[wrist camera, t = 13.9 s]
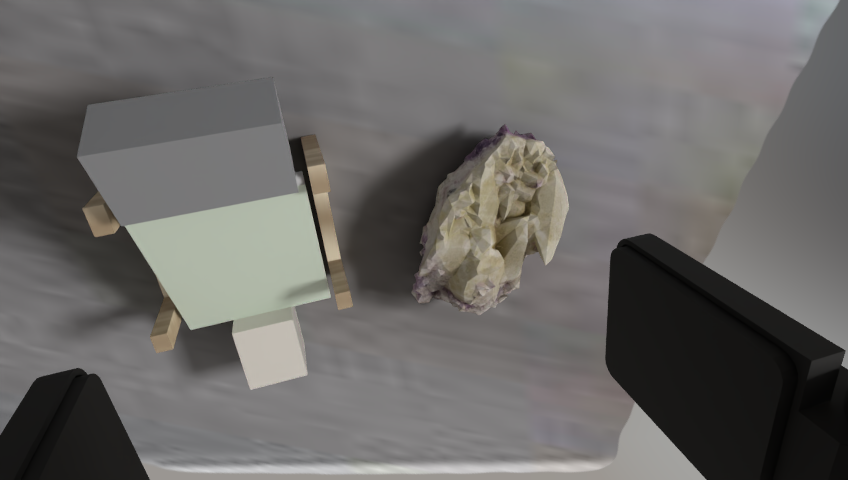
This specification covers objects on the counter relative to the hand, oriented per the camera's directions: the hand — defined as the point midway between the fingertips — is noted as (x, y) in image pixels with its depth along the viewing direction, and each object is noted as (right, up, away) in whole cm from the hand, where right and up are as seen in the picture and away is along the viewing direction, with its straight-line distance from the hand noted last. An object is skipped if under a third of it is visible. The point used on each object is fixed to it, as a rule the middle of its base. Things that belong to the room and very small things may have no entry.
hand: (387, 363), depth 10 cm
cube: (-13, -4, +36) cm, 39 cm away
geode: (+6, +5, +41) cm, 42 cm away
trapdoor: (-14, +5, +31) cm, 34 cm away
